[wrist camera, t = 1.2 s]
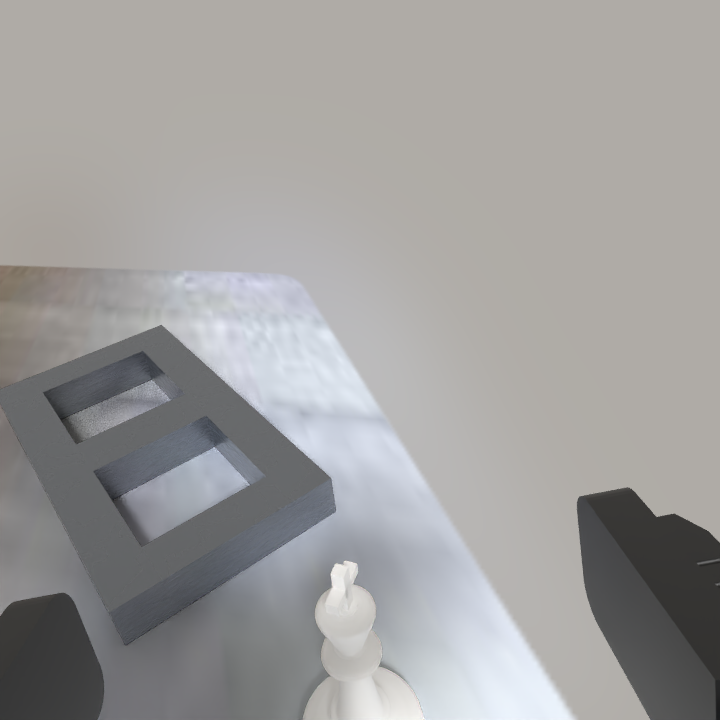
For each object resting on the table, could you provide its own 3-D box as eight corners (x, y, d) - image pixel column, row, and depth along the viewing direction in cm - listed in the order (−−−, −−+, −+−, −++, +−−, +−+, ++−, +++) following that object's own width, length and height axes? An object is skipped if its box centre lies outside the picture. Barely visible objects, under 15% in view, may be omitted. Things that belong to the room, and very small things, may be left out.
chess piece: (280, 775, 24) (230, 617, 19) (329, 657, 28) (300, 497, 22) (405, 822, 23) (391, 666, 17) (439, 691, 26) (437, 527, 21)
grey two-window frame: (125, 645, 29) (109, 612, 28) (8, 420, 44) (-6, 391, 43) (336, 511, 35) (331, 478, 33) (169, 352, 50) (161, 324, 48)
